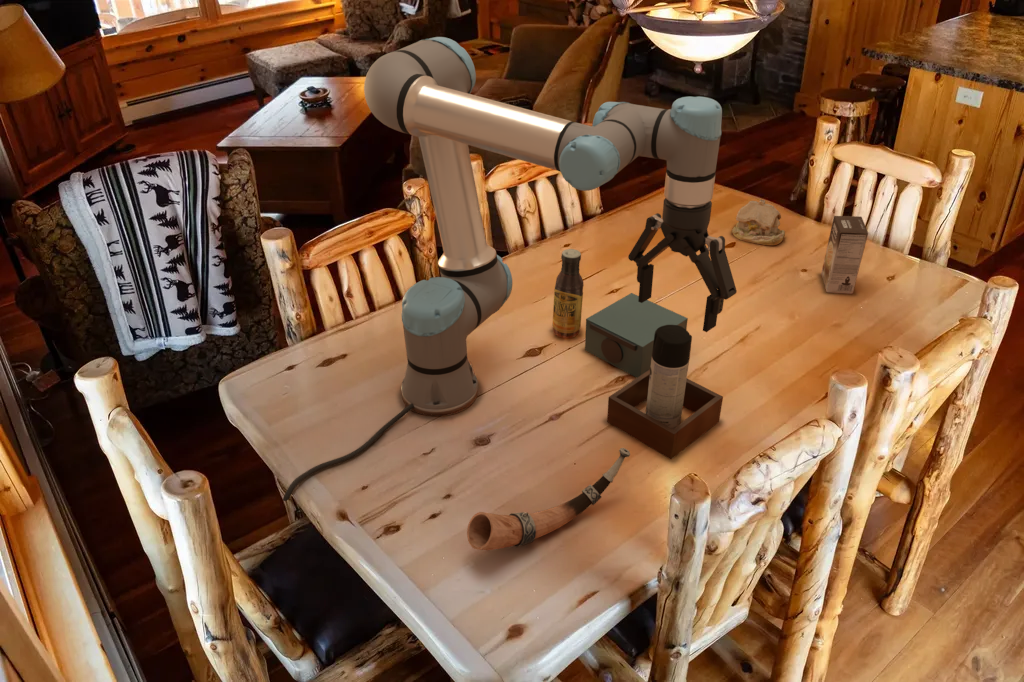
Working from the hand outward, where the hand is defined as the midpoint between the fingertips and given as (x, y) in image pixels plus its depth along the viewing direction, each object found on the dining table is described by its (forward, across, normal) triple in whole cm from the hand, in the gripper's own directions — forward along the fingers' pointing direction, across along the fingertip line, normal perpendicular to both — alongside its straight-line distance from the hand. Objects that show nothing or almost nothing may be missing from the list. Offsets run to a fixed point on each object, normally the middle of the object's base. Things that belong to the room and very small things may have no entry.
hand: (676, 313), depth 139 cm
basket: (+24, 0, 0) cm, 24 cm away
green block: (+24, +19, -15) cm, 34 cm away
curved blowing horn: (+24, -3, +34) cm, 42 cm away
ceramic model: (+24, +30, -81) cm, 90 cm away
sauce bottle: (+24, +34, -10) cm, 43 cm away
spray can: (+24, 0, 0) cm, 24 cm away
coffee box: (+24, +2, -71) cm, 75 cm away
